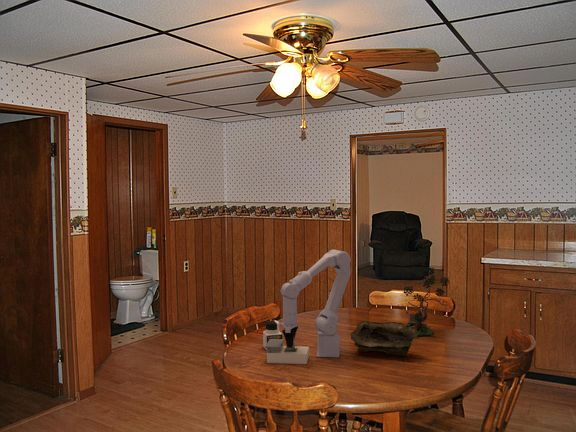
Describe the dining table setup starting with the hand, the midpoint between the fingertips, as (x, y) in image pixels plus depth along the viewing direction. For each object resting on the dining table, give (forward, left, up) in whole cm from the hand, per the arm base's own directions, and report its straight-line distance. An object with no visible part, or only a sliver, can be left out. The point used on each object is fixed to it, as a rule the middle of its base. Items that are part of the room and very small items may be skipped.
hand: (290, 345), depth 207 cm
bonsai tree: (-59, -50, -6) cm, 78 cm away
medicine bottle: (+10, -15, -6) cm, 19 cm away
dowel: (0, 0, -3) cm, 3 cm away
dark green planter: (-38, -11, -6) cm, 40 cm away
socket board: (+1, 0, -6) cm, 6 cm away
